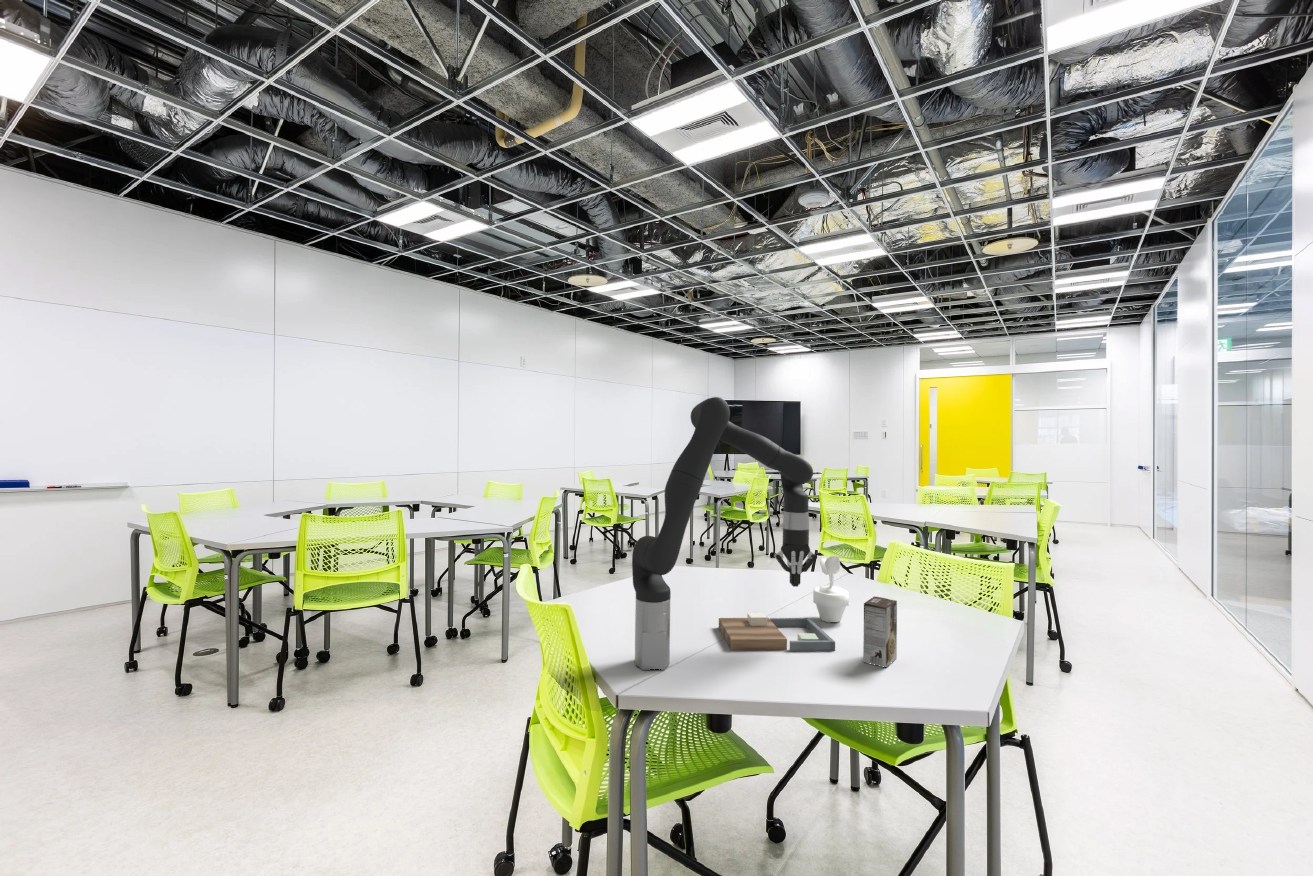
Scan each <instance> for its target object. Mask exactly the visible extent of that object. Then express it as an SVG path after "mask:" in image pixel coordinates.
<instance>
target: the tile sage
mask: <svg viewBox="0 0 1313 876" xmlns="http://www.w3.org/2000/svg"><path fill="white" fill-rule="evenodd" d="M818 640H819V639H818V637H817V636H816V634H815V633H812V632H810V633H809V632H797V641H818Z"/></svg>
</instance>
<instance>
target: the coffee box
mask: <svg viewBox="0 0 1313 876" xmlns="http://www.w3.org/2000/svg"><path fill="white" fill-rule="evenodd" d="M897 615H898V602H897V600H895V599H890V598H886V597H881V596H880V597H879V596H873V597H871V598H870V599H868V600H867V601H865V602H864V603H863V643H862V645H863V648H862V649H863V652H862V653H863V655H862V656H863V663H864V662H867V663H871V664H875V665H880V666H884V667H887V666H888V665H889V664H890V663H891V662H892V663H894V662H895V661H896V660H897V655H898V654H897V653H898V651H897V650H898V649H897V647H898V646H897V644H898V642H897V640H898V638H897V637H898V635H897V633H898V624H897V623H898V621H897V619H898V618H897V617H898V616H897ZM867 663H866V664H867ZM892 663H891V664H892ZM871 664H870V665H871ZM891 664H890V665H891ZM875 665H874V666H875ZM890 665H889V666H890ZM889 666H888V667H889ZM888 667H887V668H888Z"/></svg>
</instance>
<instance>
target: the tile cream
mask: <svg viewBox="0 0 1313 876" xmlns="http://www.w3.org/2000/svg"><path fill="white" fill-rule="evenodd" d="M746 616H747V617H746V618H747V621H748V622H749V624H750V625H751V626H767V618H768V616H767V615H766V614H765V613H764V612H747V614H746Z"/></svg>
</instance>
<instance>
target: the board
mask: <svg viewBox="0 0 1313 876" xmlns="http://www.w3.org/2000/svg"><path fill="white" fill-rule="evenodd" d="M718 629H719V631H720V632H721V634H722V636H723V638H724V639H725V641H726V643H727V645H728V647H729V649H730V651H772V650H775V651H781V650H783V651H784V650H785V651H788V638H787V637H786V636H785V635H784V634H783V633H782V631H781V630H780V629H779V627H776V626H775V625H774V624H773V622H772V621H771V620H770V617H767V626H751V625H750V624H749V622H748V621H747V617H719V618H718Z"/></svg>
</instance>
